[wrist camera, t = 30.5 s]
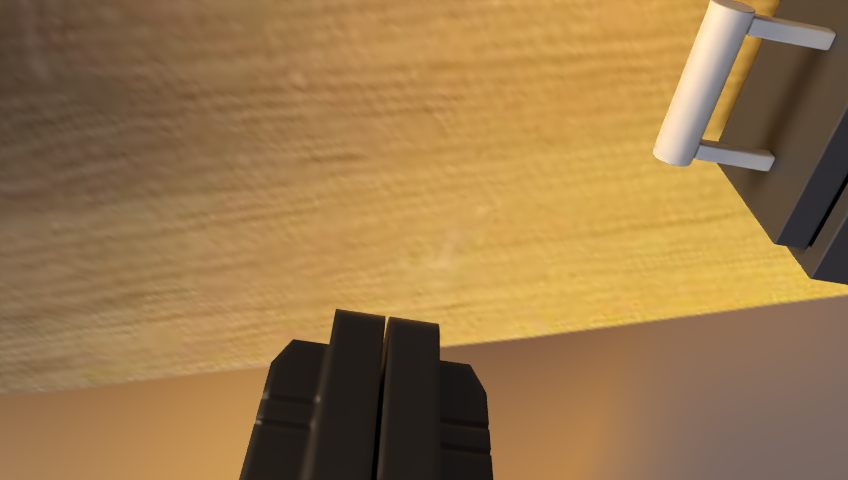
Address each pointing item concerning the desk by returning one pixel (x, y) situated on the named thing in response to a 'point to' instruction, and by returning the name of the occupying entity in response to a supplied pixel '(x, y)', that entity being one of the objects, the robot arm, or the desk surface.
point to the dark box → (828, 246)
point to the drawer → (770, 111)
